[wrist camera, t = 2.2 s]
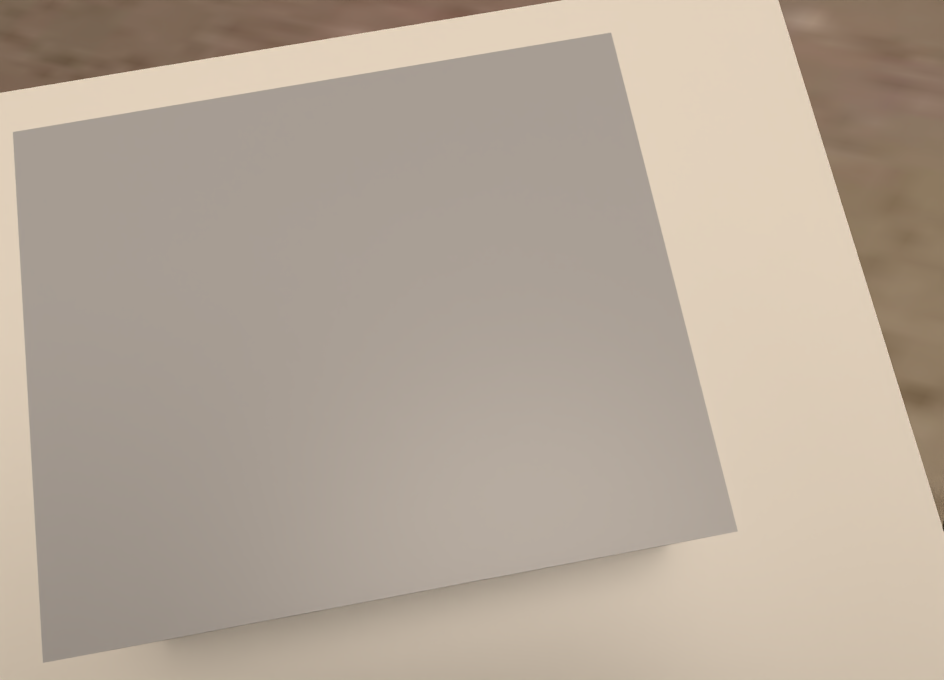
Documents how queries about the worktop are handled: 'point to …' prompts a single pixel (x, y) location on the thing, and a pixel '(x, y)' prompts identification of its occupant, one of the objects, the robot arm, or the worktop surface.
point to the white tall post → (452, 366)
